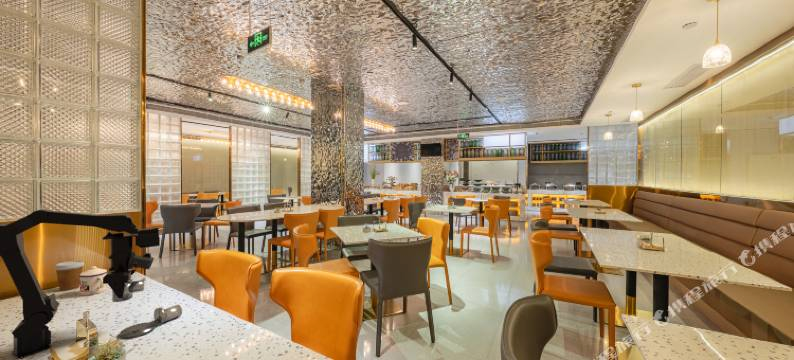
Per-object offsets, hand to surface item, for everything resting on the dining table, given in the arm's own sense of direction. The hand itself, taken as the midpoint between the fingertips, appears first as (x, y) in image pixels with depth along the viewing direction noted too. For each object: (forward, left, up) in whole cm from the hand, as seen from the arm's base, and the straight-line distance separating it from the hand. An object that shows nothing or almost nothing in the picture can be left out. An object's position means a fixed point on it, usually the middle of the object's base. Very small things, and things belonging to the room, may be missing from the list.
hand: (122, 295), depth 104 cm
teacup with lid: (+11, +52, -12) cm, 55 cm away
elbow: (+2, -1, -1) cm, 2 cm away
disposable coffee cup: (+8, +69, -12) cm, 71 cm away
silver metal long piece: (+6, -7, -12) cm, 15 cm away
